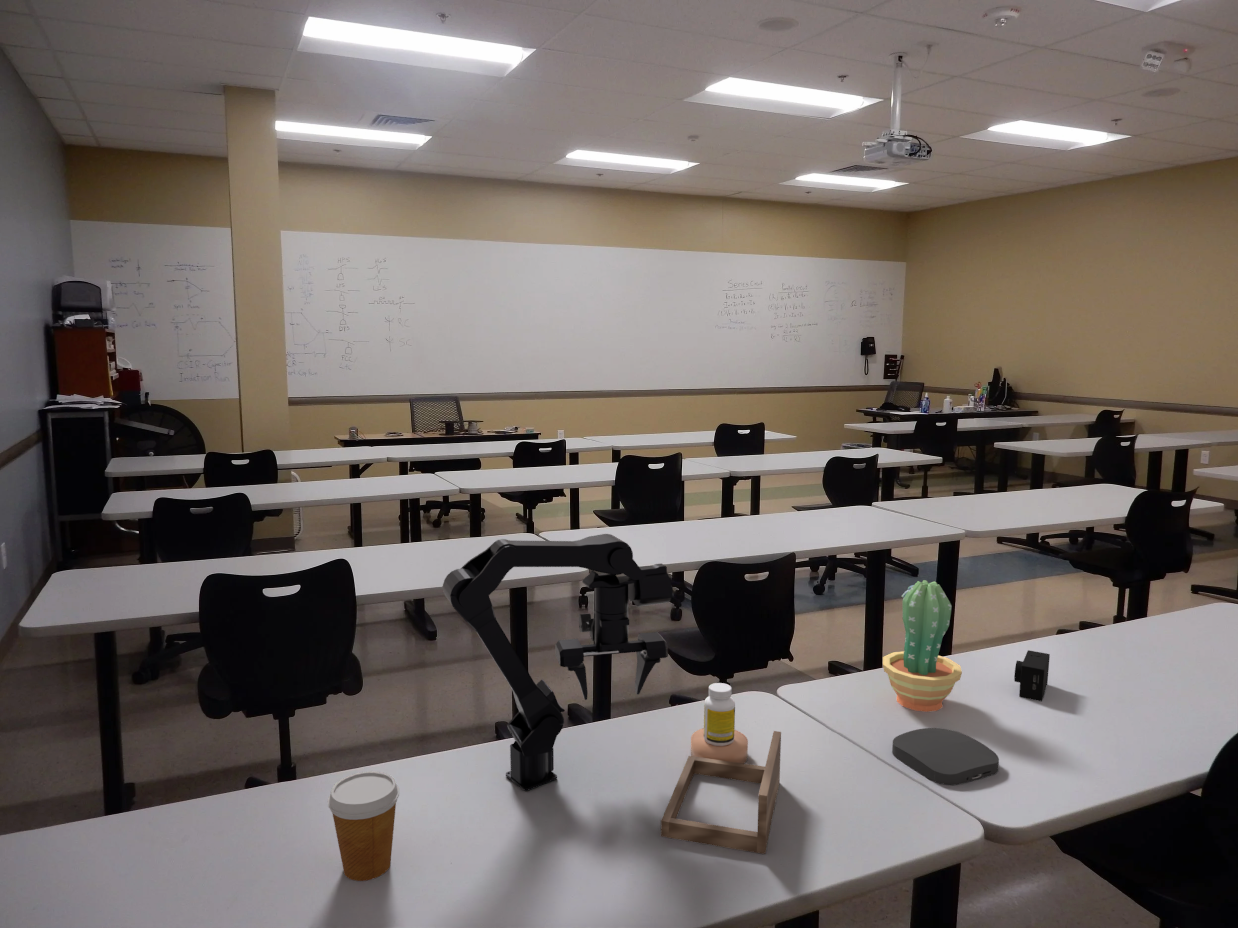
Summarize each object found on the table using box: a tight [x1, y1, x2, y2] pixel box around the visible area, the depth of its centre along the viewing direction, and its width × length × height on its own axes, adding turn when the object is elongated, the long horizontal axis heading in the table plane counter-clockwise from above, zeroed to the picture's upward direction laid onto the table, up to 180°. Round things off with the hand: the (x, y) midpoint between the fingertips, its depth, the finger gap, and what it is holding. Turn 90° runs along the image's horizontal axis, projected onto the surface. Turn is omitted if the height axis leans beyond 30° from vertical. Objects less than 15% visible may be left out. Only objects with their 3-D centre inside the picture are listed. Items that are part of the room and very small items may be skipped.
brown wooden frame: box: [660, 730, 782, 855], centre depth 131 cm, size 15×20×9 cm
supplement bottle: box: [703, 682, 736, 746], centre depth 147 cm, size 5×5×10 cm
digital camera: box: [1013, 649, 1051, 702], centre depth 176 cm, size 10×5×7 cm, turn 148°
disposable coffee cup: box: [327, 770, 400, 882], centre depth 116 cm, size 10×10×12 cm
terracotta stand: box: [690, 727, 749, 764], centre depth 148 cm, size 10×10×3 cm
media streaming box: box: [891, 727, 1000, 786], centre depth 147 cm, size 15×15×3 cm
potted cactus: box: [882, 579, 963, 713], centre depth 169 cm, size 15×15×25 cm
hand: (611, 696), depth 145 cm, fingers open, 9 cm apart
